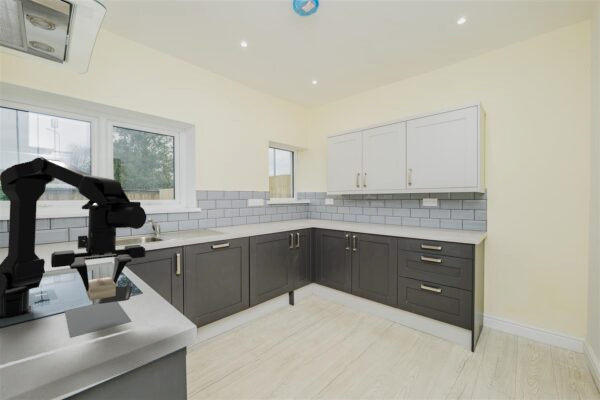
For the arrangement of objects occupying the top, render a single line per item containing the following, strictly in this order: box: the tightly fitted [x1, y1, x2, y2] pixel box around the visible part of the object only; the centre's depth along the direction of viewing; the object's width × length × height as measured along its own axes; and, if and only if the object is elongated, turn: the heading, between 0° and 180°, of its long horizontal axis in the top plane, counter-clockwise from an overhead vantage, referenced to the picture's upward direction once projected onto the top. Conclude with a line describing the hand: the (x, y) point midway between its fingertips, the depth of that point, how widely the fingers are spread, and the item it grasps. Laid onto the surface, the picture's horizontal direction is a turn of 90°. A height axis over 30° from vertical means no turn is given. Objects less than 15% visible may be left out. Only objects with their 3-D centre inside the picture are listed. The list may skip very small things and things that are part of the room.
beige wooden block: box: [85, 276, 117, 302], centre depth 67 cm, size 8×5×3 cm, turn 45°
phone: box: [98, 285, 133, 304], centre depth 86 cm, size 8×1×15 cm
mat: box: [64, 301, 133, 338], centre depth 70 cm, size 20×12×1 cm, turn 45°
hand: (100, 288), depth 67 cm, fingers closed on beige wooden block, 5 cm apart
